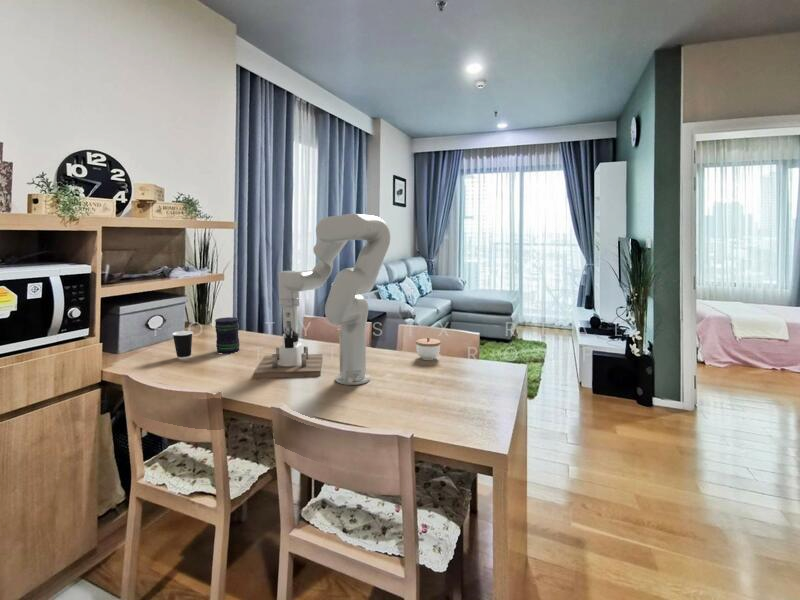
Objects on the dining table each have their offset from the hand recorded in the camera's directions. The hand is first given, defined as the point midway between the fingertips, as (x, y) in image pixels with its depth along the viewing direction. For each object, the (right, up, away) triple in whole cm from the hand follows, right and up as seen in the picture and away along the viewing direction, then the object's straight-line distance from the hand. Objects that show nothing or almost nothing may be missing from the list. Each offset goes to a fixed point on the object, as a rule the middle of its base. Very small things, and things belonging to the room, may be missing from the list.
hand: (290, 344), depth 168 cm
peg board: (0, -9, +1) cm, 9 cm away
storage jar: (-35, -6, +25) cm, 44 cm away
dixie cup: (-49, -7, +14) cm, 52 cm away
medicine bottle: (0, -7, +1) cm, 7 cm away
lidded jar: (+56, -8, +17) cm, 59 cm away
